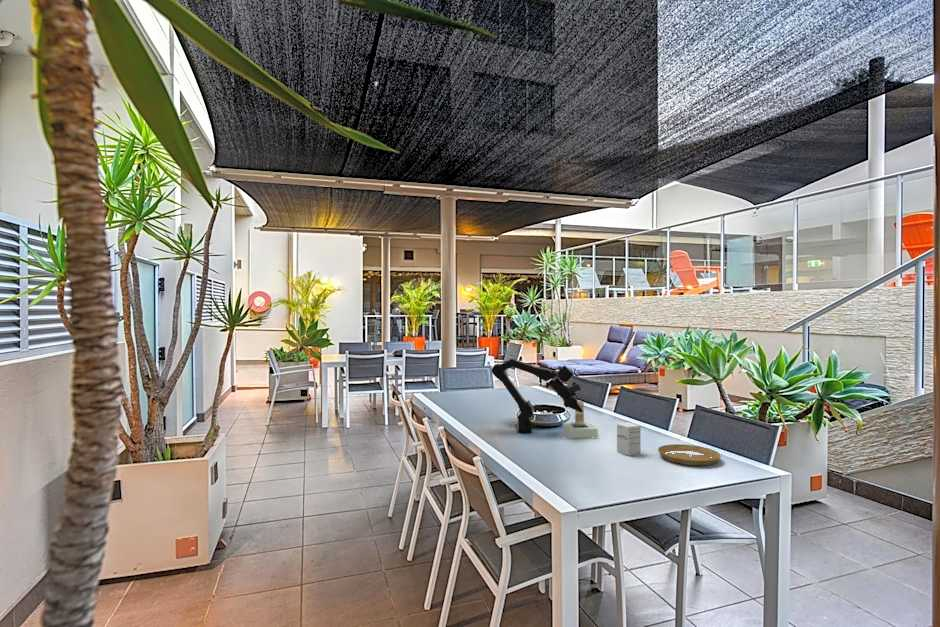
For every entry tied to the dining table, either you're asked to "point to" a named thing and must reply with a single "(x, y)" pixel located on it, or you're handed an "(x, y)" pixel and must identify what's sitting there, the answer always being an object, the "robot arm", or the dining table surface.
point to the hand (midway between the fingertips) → (582, 411)
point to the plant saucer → (685, 458)
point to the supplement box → (628, 438)
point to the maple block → (579, 414)
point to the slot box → (580, 430)
